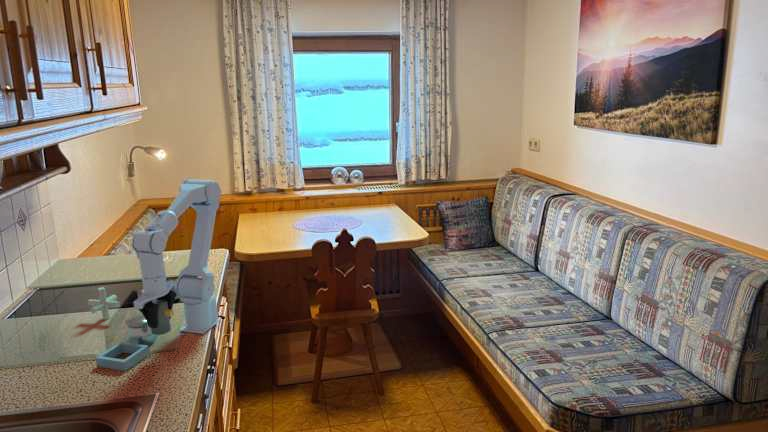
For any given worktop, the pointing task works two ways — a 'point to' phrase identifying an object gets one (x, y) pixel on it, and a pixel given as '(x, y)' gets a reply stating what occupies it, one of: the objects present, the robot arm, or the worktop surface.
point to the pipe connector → (103, 303)
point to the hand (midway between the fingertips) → (160, 323)
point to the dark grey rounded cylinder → (162, 317)
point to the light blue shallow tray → (111, 362)
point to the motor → (140, 331)
